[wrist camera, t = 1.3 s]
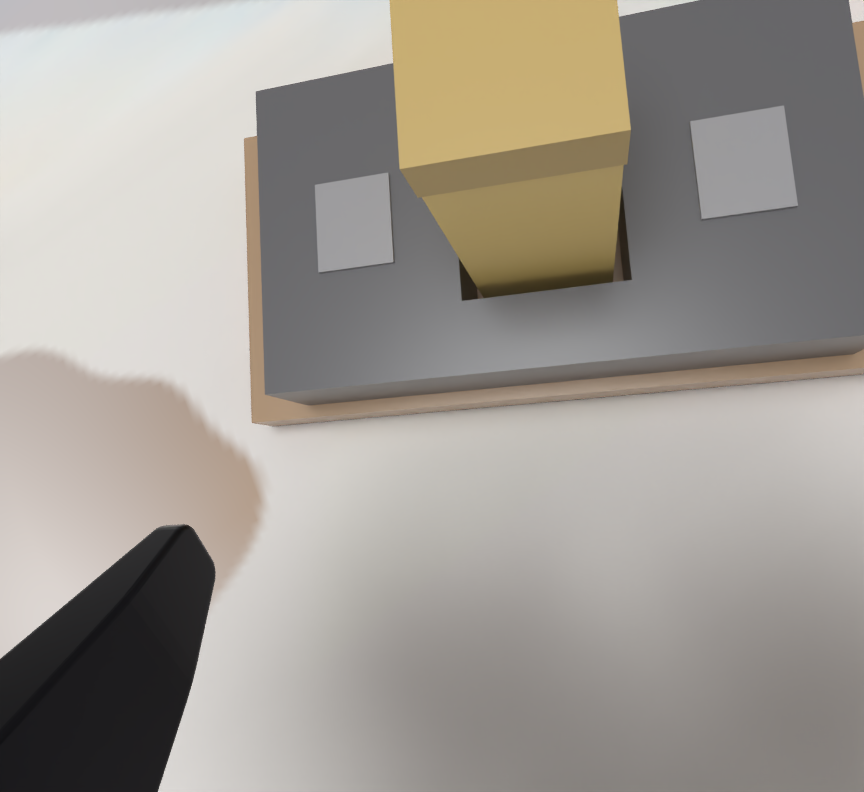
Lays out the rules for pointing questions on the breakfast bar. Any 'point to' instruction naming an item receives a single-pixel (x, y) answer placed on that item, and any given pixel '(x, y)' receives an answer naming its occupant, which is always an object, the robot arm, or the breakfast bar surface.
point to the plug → (515, 134)
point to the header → (635, 248)
